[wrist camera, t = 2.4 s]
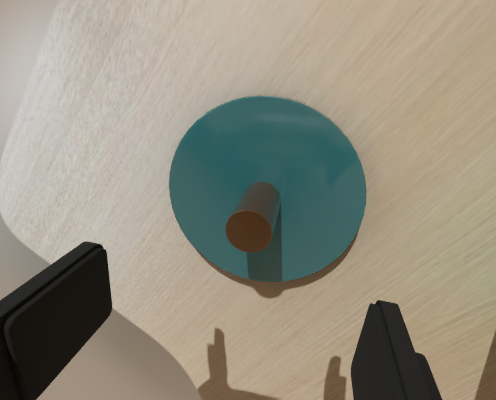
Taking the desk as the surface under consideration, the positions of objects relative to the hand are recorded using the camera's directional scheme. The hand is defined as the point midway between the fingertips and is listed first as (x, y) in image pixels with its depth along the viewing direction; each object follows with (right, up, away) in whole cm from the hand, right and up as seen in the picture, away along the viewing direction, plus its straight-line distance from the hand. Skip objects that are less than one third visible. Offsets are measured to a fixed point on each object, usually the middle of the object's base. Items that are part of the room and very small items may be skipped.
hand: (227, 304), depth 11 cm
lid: (+2, +4, +9) cm, 10 cm away
